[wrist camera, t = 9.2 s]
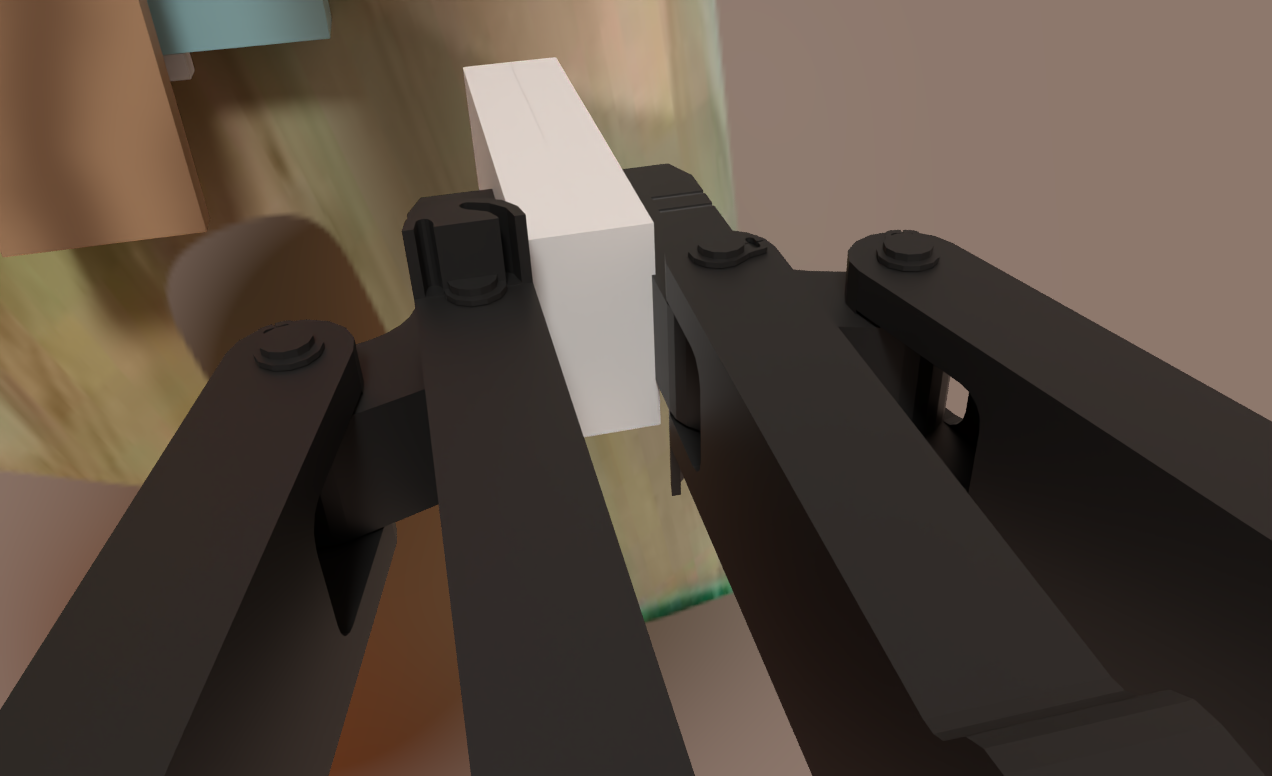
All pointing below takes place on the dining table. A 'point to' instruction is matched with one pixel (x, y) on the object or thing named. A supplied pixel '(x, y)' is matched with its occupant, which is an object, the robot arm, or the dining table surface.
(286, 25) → the slate blue rectangular box
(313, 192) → the dining table surface
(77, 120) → the overhang
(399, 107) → the dining table surface
